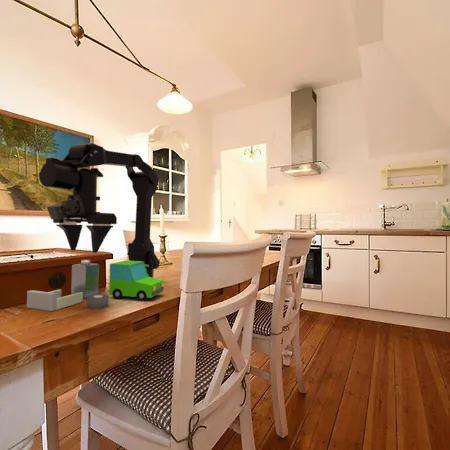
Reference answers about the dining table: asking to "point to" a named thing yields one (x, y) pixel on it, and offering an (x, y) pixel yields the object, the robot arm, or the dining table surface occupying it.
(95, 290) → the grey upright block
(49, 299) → the bay
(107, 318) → the dining table surface
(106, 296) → the spare wheel
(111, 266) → the toy car
